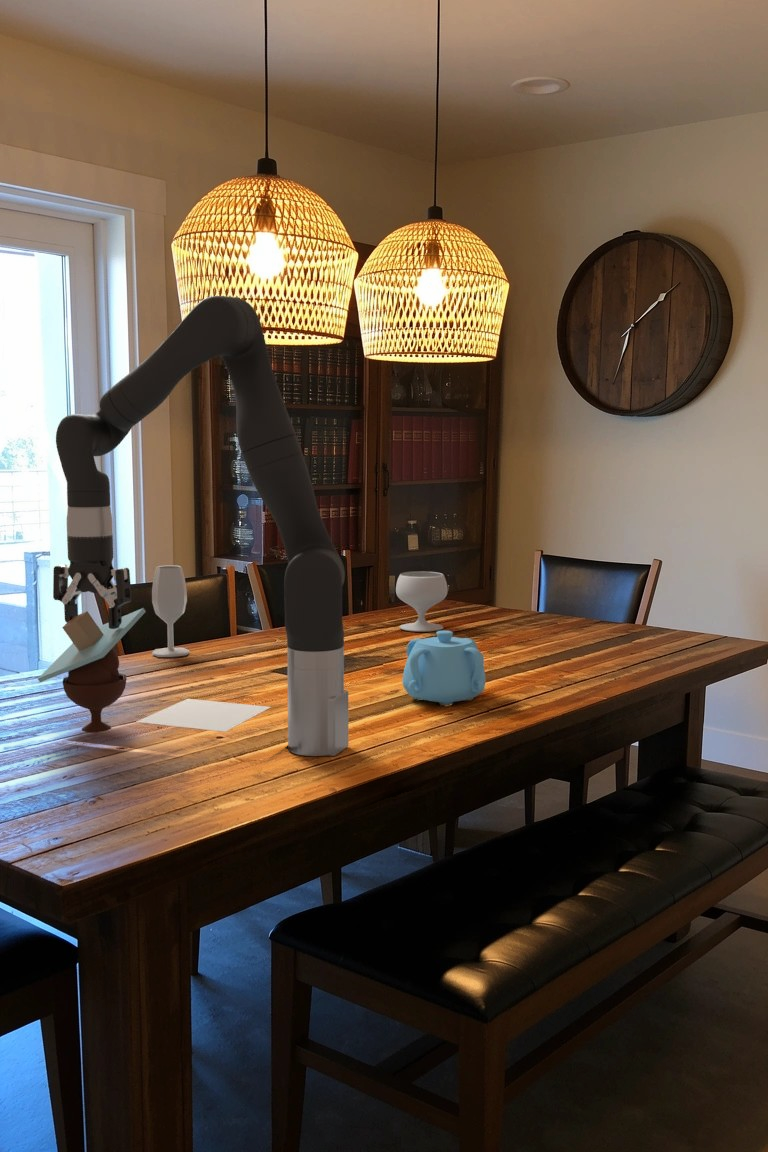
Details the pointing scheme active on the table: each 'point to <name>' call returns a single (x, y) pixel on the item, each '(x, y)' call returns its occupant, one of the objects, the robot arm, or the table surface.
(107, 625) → the cover sheet
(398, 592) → the chalice
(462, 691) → the decorative pot
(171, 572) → the wineglass
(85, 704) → the ice cream bowl
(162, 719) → the mat
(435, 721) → the table surface
